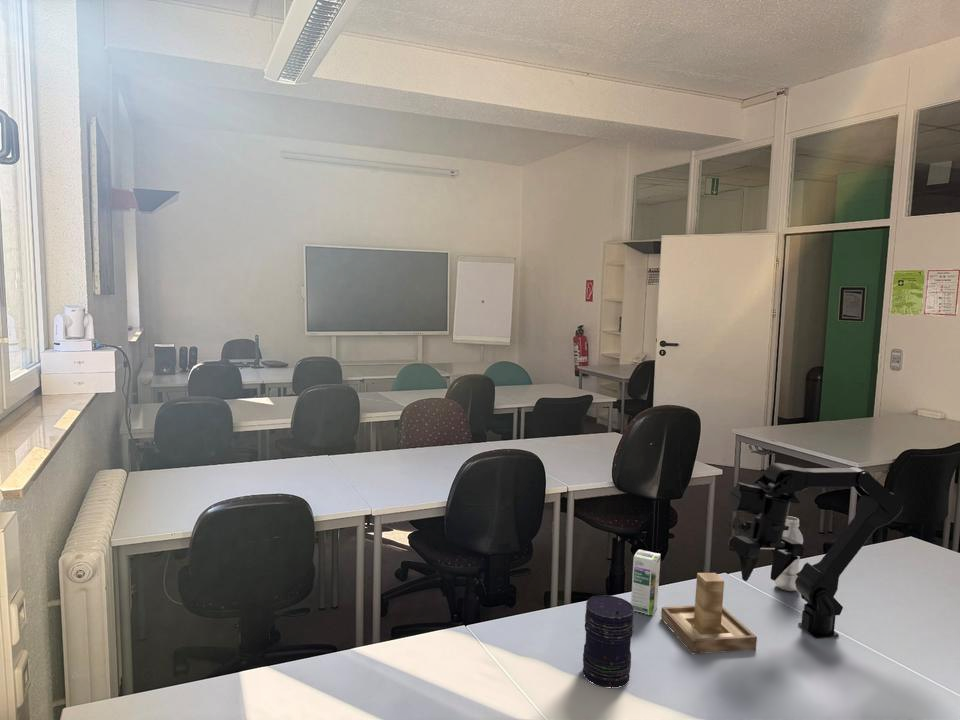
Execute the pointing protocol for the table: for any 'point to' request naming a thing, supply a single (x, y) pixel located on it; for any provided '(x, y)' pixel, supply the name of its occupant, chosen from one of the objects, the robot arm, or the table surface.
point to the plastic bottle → (789, 574)
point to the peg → (708, 603)
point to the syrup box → (645, 581)
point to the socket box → (728, 640)
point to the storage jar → (608, 640)
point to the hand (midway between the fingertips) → (758, 580)
